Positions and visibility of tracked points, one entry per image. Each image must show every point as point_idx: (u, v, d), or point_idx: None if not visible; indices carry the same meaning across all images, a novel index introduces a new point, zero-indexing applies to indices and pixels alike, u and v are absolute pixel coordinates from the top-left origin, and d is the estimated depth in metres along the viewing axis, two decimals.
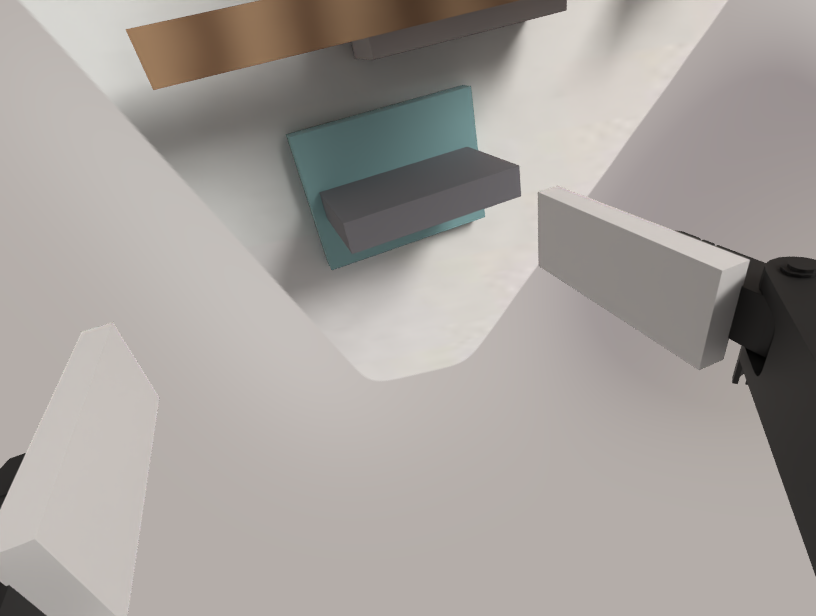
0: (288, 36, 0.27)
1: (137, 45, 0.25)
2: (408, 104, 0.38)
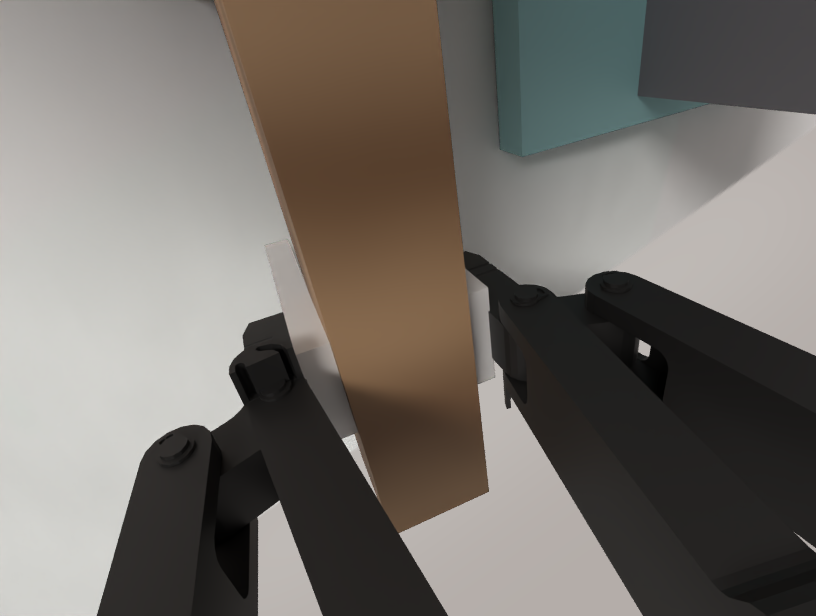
0: (410, 239, 0.09)
1: (417, 519, 0.13)
2: None
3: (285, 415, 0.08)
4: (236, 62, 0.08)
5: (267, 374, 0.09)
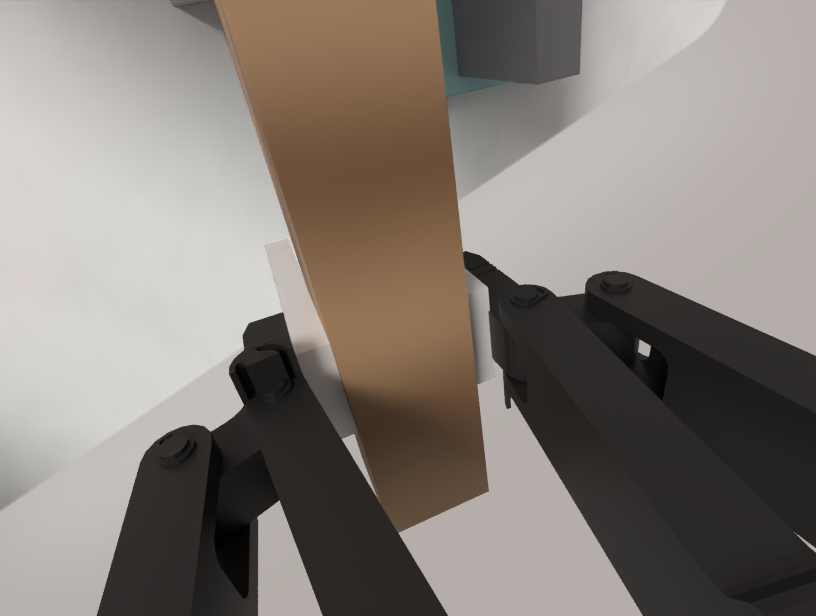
0: (409, 239, 0.09)
1: (417, 519, 0.13)
2: None
3: (285, 415, 0.08)
4: (236, 62, 0.08)
5: (267, 374, 0.09)
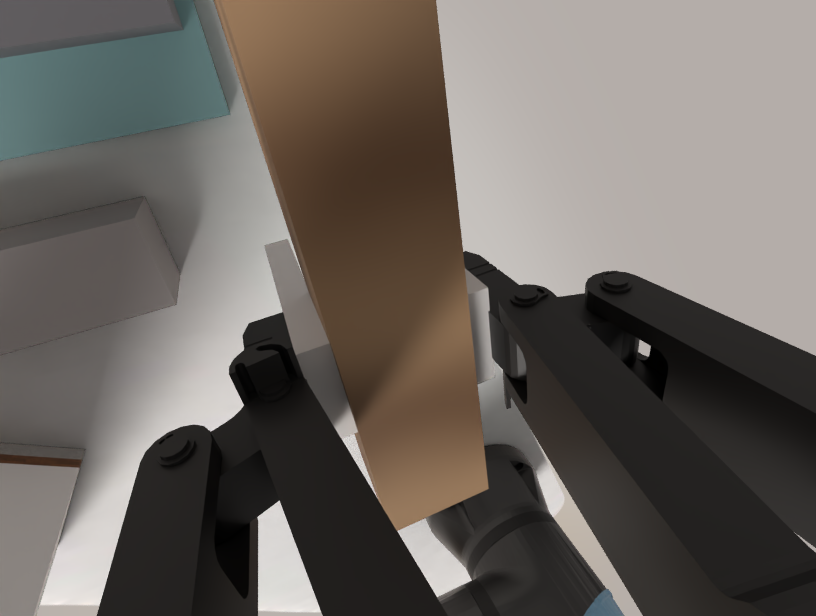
0: (409, 233, 0.08)
1: (417, 517, 0.13)
2: (52, 149, 0.27)
3: (285, 415, 0.08)
4: (233, 54, 0.08)
5: (267, 374, 0.09)
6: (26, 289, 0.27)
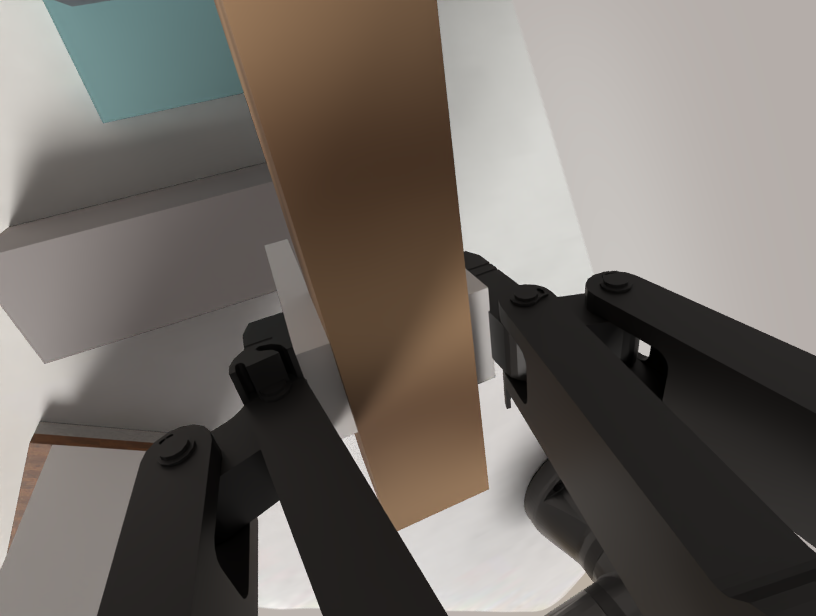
0: (409, 232, 0.08)
1: (417, 517, 0.12)
2: (219, 96, 0.24)
3: (285, 415, 0.08)
4: (233, 53, 0.08)
5: (267, 374, 0.09)
6: (196, 252, 0.24)
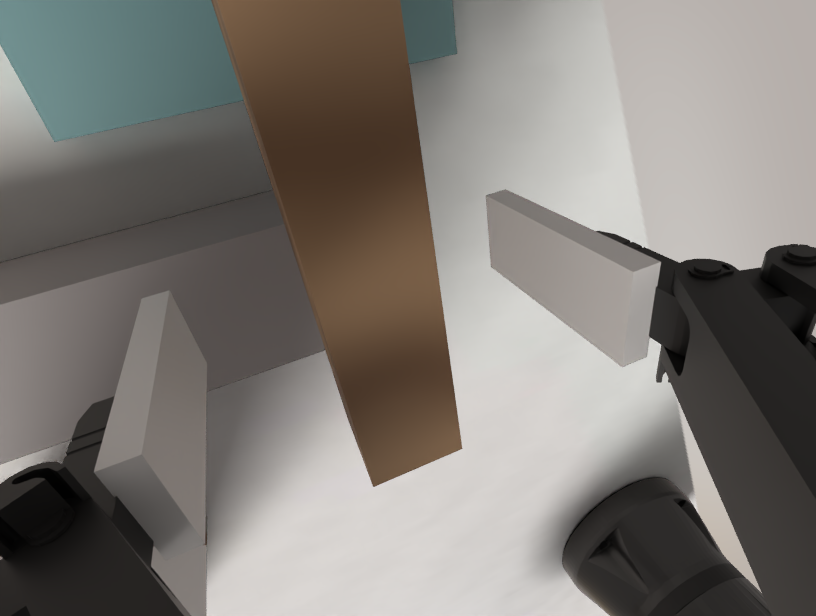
0: (383, 213, 0.10)
1: (396, 472, 0.14)
2: (218, 104, 0.18)
3: (67, 557, 0.06)
4: (231, 57, 0.09)
5: (34, 511, 0.07)
6: (186, 318, 0.17)
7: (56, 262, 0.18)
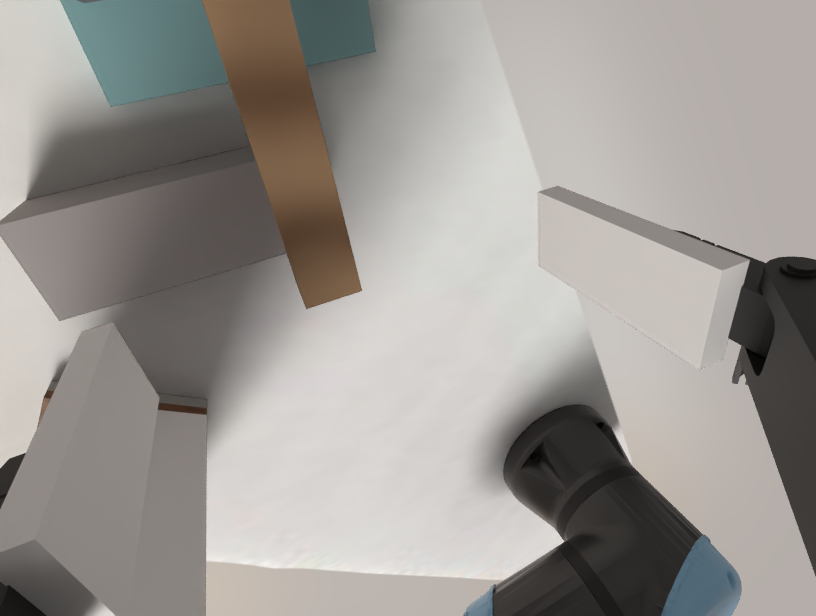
0: (296, 131, 0.19)
1: (320, 300, 0.23)
2: (214, 84, 0.27)
3: None
4: (219, 52, 0.19)
5: None
6: (193, 222, 0.27)
7: (109, 186, 0.27)
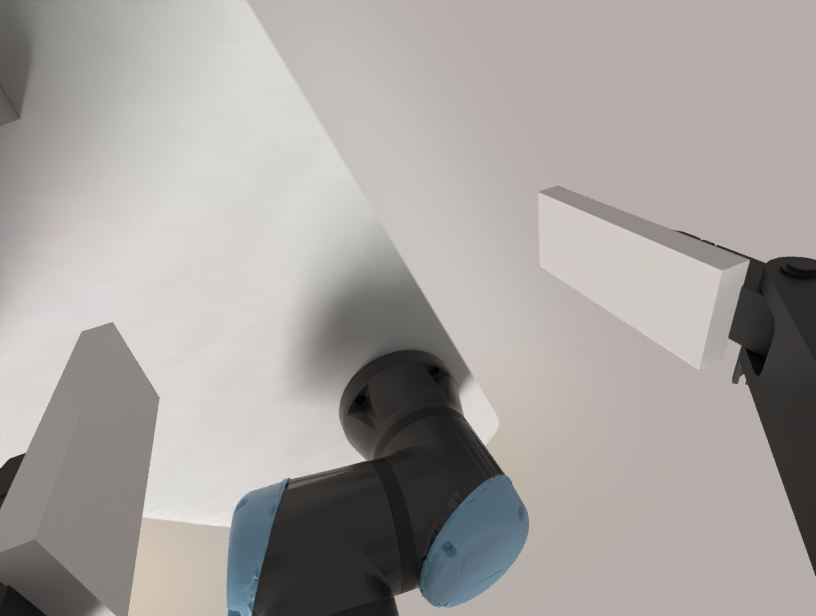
0: None
1: None
2: None
3: None
4: None
5: None
6: None
7: None
